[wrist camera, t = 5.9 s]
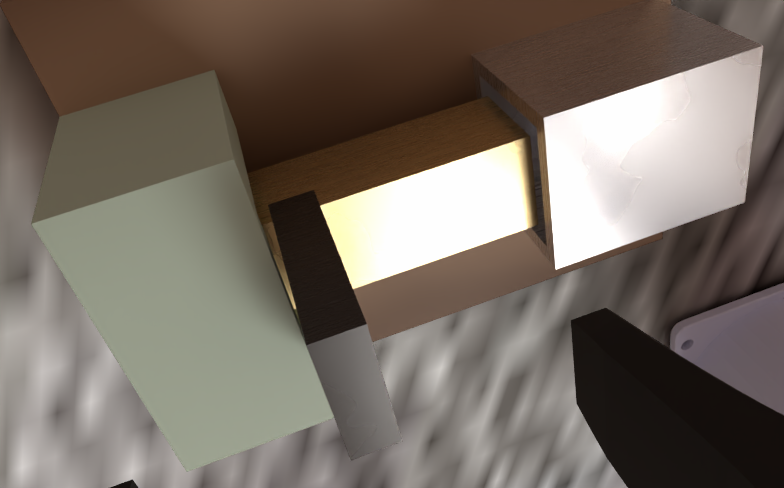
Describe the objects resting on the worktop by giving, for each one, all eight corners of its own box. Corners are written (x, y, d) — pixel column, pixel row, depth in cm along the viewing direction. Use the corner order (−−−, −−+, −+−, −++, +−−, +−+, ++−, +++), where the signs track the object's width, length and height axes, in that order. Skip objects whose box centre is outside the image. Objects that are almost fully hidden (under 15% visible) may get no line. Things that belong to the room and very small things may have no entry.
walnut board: (644, 222, 23) (662, 238, 23) (209, 376, 22) (211, 399, 21) (651, -190, 16) (677, -189, 16) (7, -9, 15) (-1, 4, 14)
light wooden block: (499, 187, 19) (639, 352, 13) (209, 286, 18) (234, 504, 13) (486, 84, 17) (641, 227, 12) (163, 188, 16) (169, 393, 11)
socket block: (300, 299, 20) (333, 418, 16) (179, 340, 20) (186, 471, 16) (214, 69, 16) (233, 159, 12) (59, 116, 15) (31, 223, 12)
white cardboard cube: (650, 134, 20) (744, 202, 17) (489, 189, 20) (555, 269, 16) (653, -3, 18) (763, 45, 15) (471, 54, 17) (543, 117, 14)
